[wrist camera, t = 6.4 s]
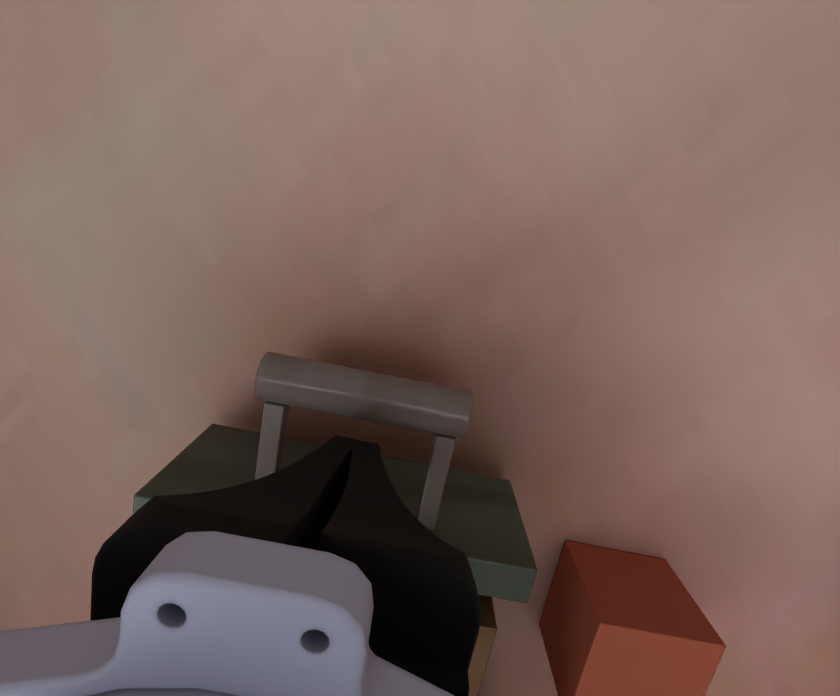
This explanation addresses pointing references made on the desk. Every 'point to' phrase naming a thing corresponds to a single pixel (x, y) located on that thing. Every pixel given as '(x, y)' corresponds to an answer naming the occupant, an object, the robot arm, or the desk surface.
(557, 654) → the block
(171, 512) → the robot arm
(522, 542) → the drawer
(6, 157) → the desk surface
